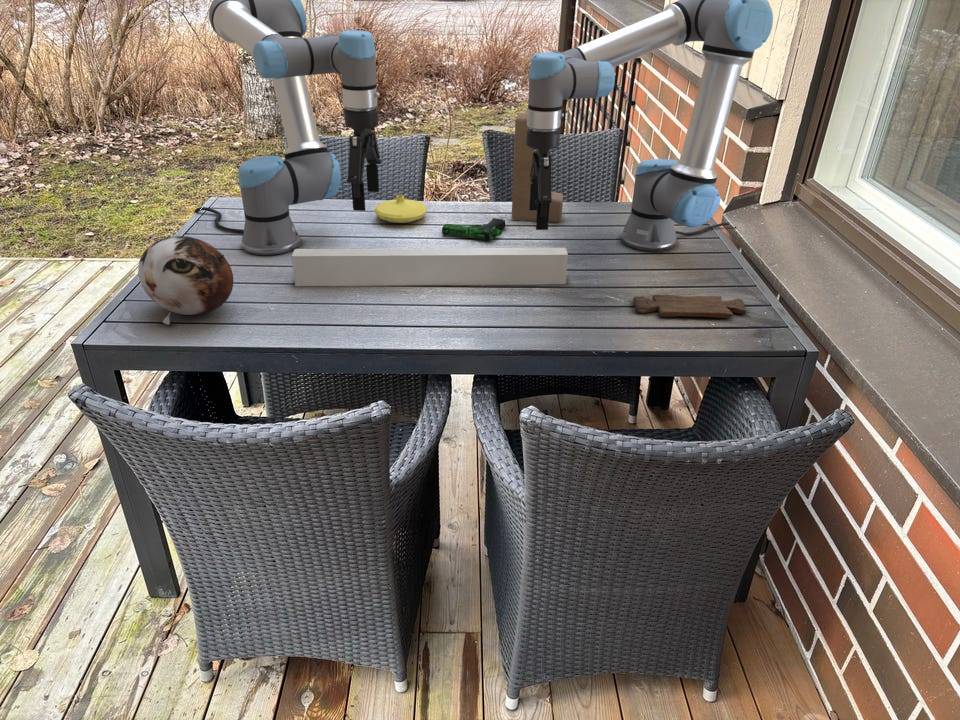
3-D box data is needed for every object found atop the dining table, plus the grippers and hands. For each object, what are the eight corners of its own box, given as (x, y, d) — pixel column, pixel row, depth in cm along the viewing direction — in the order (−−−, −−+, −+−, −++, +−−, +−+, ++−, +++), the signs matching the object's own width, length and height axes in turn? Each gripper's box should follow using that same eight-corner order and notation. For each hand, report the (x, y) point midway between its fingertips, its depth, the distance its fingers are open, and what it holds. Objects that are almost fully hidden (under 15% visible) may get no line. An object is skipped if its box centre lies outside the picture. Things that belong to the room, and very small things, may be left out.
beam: (295, 286, 174) (291, 256, 170) (298, 278, 178) (294, 248, 174) (565, 284, 178) (568, 254, 174) (562, 276, 182) (565, 247, 178)
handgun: (511, 219, 210) (493, 234, 198) (511, 228, 211) (492, 244, 199) (461, 212, 215) (440, 226, 203) (461, 221, 217) (440, 236, 204)
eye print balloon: (100, 300, 154) (135, 215, 156) (167, 323, 170) (198, 245, 171) (166, 325, 144) (203, 233, 145) (230, 347, 159) (263, 264, 161)
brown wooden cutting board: (751, 321, 162) (739, 301, 171) (753, 314, 161) (740, 295, 170) (638, 317, 162) (631, 298, 171) (639, 310, 162) (632, 291, 170)
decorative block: (560, 223, 215) (568, 120, 200) (511, 220, 217) (515, 118, 201) (561, 214, 221) (569, 114, 206) (513, 212, 223) (517, 112, 208)
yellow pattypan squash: (398, 206, 226) (397, 184, 222) (437, 217, 218) (437, 194, 214) (364, 220, 215) (362, 197, 211) (403, 231, 207) (402, 208, 203)
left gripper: (363, 121, 148) (369, 219, 159) (389, 97, 169) (393, 185, 180) (327, 119, 148) (336, 217, 159) (358, 95, 169) (364, 183, 180)
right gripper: (569, 142, 149) (561, 238, 160) (552, 116, 171) (546, 202, 182) (533, 142, 149) (528, 238, 160) (521, 116, 170) (517, 202, 181)
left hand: (366, 200), depth 170 cm, fingers open, 13 cm apart
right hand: (538, 219), depth 171 cm, fingers open, 13 cm apart
